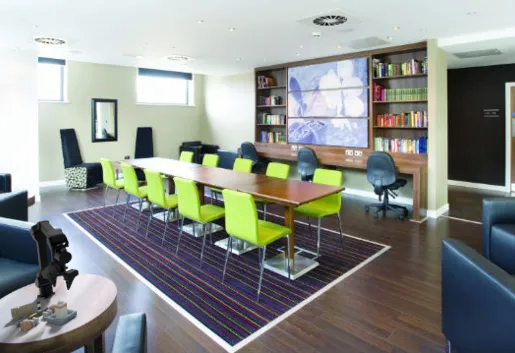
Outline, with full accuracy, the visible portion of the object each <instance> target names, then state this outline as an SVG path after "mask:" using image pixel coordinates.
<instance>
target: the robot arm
mask: <svg viewBox="0 0 515 353" xmlns="http://www.w3.org/2000/svg"><path fill="white" fill-rule="evenodd" d="M29 233H30V236H31V238H32V239H33V240H34V241H35V242H36V243H35V244H36V251H37V258H38V266H39V268H38V270H37V272H36V278H35V280H34V285H35V287H36V288H37V289H38V292H39V294H38V295H36V296H37V298H41V299H47V298H50V297H51V296H53V295H55V294H56V292H55V291H54V290H53V289H54V288H55V287H57V280H58V274H59V275H62V277H63V279H62V280H64V281H65V286H66V290H67V291H69V290H70V289H71V288H72V284H73V282H74V280H75V278H76V277H77V276H79V275H80V274H79V270H78V269H75V268H71V269H69V266H67V264H69V263H70V262H71V261H72V258H73V254H72V253H71V252H70V251H68V249H67V248H69V247H70V242H69V239H68V237H67V235H66V234H65V233H64V232H63V231H61V230H56V228H54V226H52V224H51V223H50V220H49V219H47V220H45V219H43V220H40V221H38V222H36V223H34V225H32V226H31V227H30V228H29ZM48 248H49V249H50V254H51V261H49V254H48ZM68 269H69V270H68Z"/></svg>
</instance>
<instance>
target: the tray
mask: <svg viewBox="0 0 515 353" xmlns="http://www.w3.org/2000/svg"><path fill="white" fill-rule="evenodd" d="M67 311H68V316H66V317H64V318H63V319H61V320H60V319H56V313H54V314H52V315H50V316H49V317H47V318H46V322H47V323H50V324H54V325H58V326H62V325H63V324H65V323H67V322H68V321H70V320H72V319H74V318H75V317H76V316H78V312H77V310H74V309H69V308H67Z"/></svg>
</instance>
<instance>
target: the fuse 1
mask: <svg viewBox="0 0 515 353" xmlns="http://www.w3.org/2000/svg"><path fill="white" fill-rule="evenodd" d="M21 321H22V320H21ZM21 321H19V322H20V325H21V326H20V330H21V331H24V330H25V331H26V332H27V331H28V330H30V329H31V328H32V327H33V326H32V325H31V320H28V319H26V318H25V320H24V319H23V321H22V322H21ZM25 331H24V332H25Z"/></svg>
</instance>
